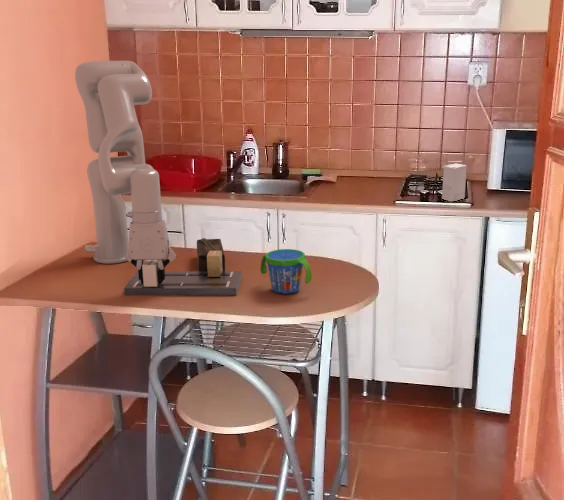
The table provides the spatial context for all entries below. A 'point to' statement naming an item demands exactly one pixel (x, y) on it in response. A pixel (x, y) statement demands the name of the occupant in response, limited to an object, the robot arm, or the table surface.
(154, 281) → the block
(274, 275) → the snack cup
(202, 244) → the beverage carton
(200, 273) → the dark grey flat board
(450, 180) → the skincare box
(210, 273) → the block
